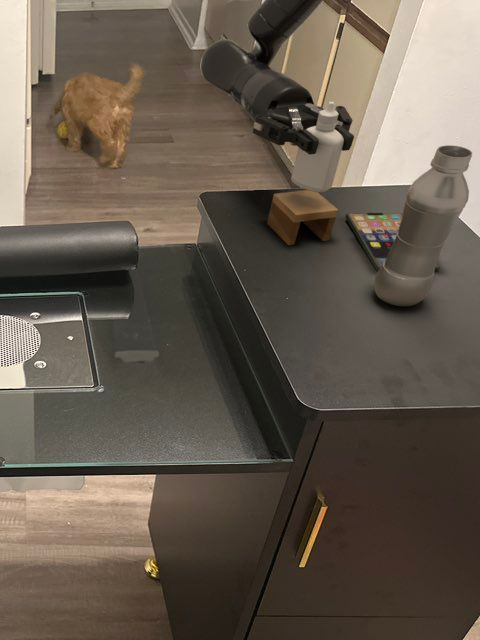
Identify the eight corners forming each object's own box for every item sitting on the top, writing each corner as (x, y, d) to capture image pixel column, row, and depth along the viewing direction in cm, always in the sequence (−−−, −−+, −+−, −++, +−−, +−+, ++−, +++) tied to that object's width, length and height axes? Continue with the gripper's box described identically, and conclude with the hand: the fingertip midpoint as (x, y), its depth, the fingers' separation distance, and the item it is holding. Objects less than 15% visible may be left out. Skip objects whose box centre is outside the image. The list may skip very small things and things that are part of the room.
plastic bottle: (360, 299, 96) (412, 153, 83) (383, 279, 99) (437, 136, 86) (410, 318, 92) (473, 168, 79) (432, 297, 95) (496, 150, 82)
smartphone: (376, 271, 101) (379, 263, 100) (344, 219, 112) (346, 212, 111) (438, 271, 100) (441, 263, 99) (399, 219, 111) (401, 212, 110)
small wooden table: (306, 218, 113) (314, 188, 110) (329, 240, 108) (338, 209, 104) (266, 223, 113) (273, 193, 109) (288, 245, 107) (296, 214, 104)
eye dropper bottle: (304, 196, 103) (326, 112, 95) (287, 178, 107) (306, 97, 99) (334, 192, 103) (358, 108, 95) (315, 175, 107) (337, 93, 99)
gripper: (234, 81, 109) (288, 124, 96) (325, 72, 110) (390, 112, 97) (226, 130, 113) (276, 177, 101) (312, 121, 114) (373, 166, 102)
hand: (332, 145), depth 99 cm, fingers closed on eye dropper bottle, 4 cm apart
